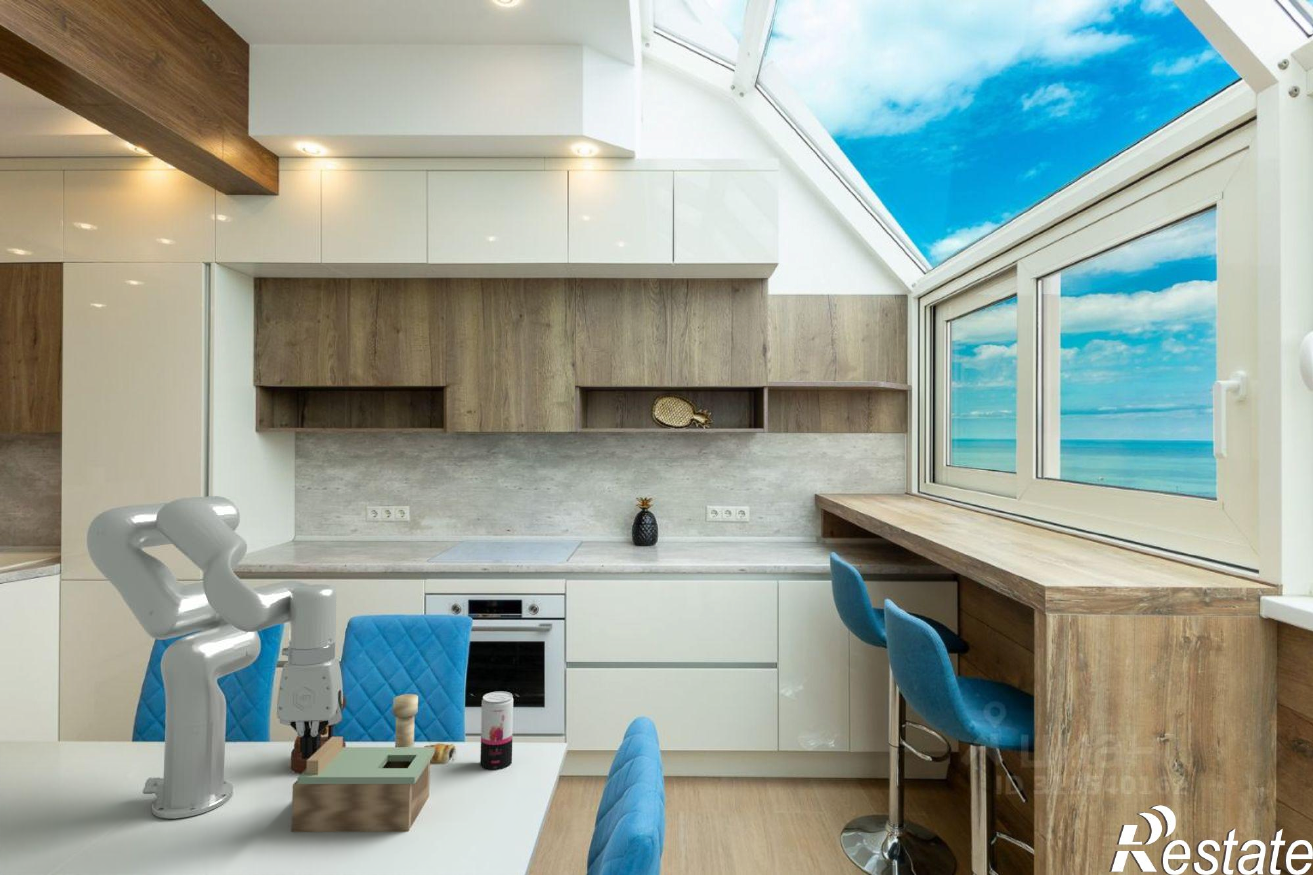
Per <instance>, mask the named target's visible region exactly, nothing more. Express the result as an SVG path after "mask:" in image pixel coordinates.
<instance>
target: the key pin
mask: <svg viewBox="0 0 1313 875" xmlns="http://www.w3.org/2000/svg"><path fill="white" fill-rule="evenodd" d="M392 702H393V703H392V715H393V717H395V737H394V738H395V740H394V741H395V743H394V745H395V746H394V747H415V744H414V742H415V718H416V717H415V715H417V713H419V712H418V711H419V710H418V708H419V696H418V695H417V694H413V693H408V694H407V693H406V694H405V693H404V694H400V695H397V696H395V697H394V698H393V700H392Z"/></svg>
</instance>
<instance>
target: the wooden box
mask: <svg viewBox="0 0 1313 875" xmlns="http://www.w3.org/2000/svg"><path fill="white" fill-rule="evenodd" d="M411 763H412V761H388V762H387V763H386V764H385V765H384V767H383V768H408V767H409V766H410V764H411ZM430 770H431V763H430V761H429V763H428V764H427V766H426V767H425V769H424V770H423V772H422V773H421V775H420V776H419V778H418V780H417V781H416V783H415V784H297V782H298V779H297V780H296V781H295V782H294V783H293V784H292V797H291V798H292V799H291V824H290V827H291V831H290V832H291V833H293V832H294V833H299V832H300V833H303V832H304V833H312V832H314V833H317V832H318V833H319V832H321V833H323V832H333V833H335V832H337V833H338V832H339V833H340V832H344V833H345V832H347V833H349V832H350V833H351V832H353V833H354V832H357V833H358V832H360V833H361V832H364V833H365V832H410V830H411V828H412V826H413V824H414V823H415V821H416V819H417V818H418V817H419V814H420V813H421V811H422V809H423V808H424V806H425V804H426V803H427V801H428V799H429V798H430V782H431V779H430V778H431V777H430V776H431V774H430V772H431V771H430Z"/></svg>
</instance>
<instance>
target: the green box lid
mask: <svg viewBox="0 0 1313 875" xmlns="http://www.w3.org/2000/svg"><path fill="white" fill-rule="evenodd" d="M343 738H344V736H333V737H331V738H330V739H329V740H328V741H327V742H326V743H325V744H324V745H323V746H322V747H321V748H320V749H319V750H317V751H316V752H315V753H314V754H313V755H312V756H311V757H310V758H309V759H308V760H307V769H306V770H305V771H304V772H303V773H302V774H298V776H297V780H298V782H297V784H415V783H416V781H417V780H418V778H419V776H420V775H421V773H422V772H423V770H424V769H425V767H426V766H427V764H428V763H429V761H430V760H431V758H432V757H433V755H434V752H435V747H425V746H422V747H421V746H419V747H418V746H417V747H416V746H414V747H395V746H394V747H393V746H391V747H390V746H387V747H386V746H385V747H384V746H383V747H382V746H381V747H380V746H379V747H378V746H375V747H374V746H372V747H371V746H364V747H363V746H355V747H354V746H351V747H350V746H346V747H342V746H343V741H344V739H343ZM388 761H412V763H411V764H410V766H409V767H408V768H383V767H384V765H385V764H386V763H387V762H388Z"/></svg>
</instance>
